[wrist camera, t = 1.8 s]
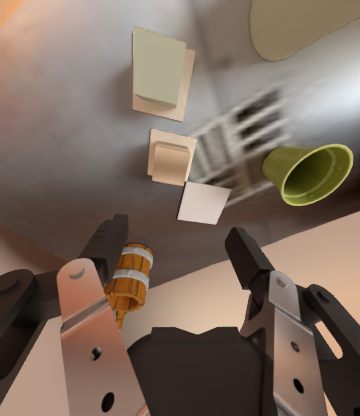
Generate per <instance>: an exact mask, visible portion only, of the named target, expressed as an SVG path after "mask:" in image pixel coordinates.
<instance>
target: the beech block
mask: <svg viewBox="0 0 360 416" xmlns="http://www.w3.org/2000/svg"><path fill="white" fill-rule="evenodd" d="M190 156H191V153H190V151H189V149H188V147H187V146H182V145H178V144H173V143H168V142H164V141H158V143H157V145H156V147H155V157H154V167H153V177H152V181H158V182H164V183H170V184H175V185H181V186H183V185H184V181H185V177H186V173H187V168H188V164H189V160H190Z"/></svg>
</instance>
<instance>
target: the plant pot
mask: <svg viewBox="0 0 360 416" xmlns="http://www.w3.org/2000/svg"><path fill="white" fill-rule="evenodd" d="M352 164H353V154H352V152H351V150H350V149H349V148H348V147H346V146H344V145H340V144H328V145H324V146H321V147H314V148H307V147H288V146H283V147H279V148H276V149H274V150H273V151H272V152H271V153H270V154H269V155H268V156H267V157H266V158H265V160H264V162H263V165H262V171H263V174H264V175H265V176H266V177H267V178H268V179H269V180H270V181H271V182H272V183H273V184H274V185H275V186H276V187H277V188H278V189H279V192H280V193H281V197H282V199H283V200H284V201H285V202H286V203H288V204H290V205H294V206H302V205H307V204H311V203H314V202H316V201H318V200H320V199H322V198H324V197H326V196H327V195H328V194H330V193H331V192H333V191H334V190H335V189H336V188H337V187H338V186H339V185H340V184H341V183H342V182H343V181H344V180H345V178H346V177H347V175H348V174H349V172H350V170H351V167H352Z"/></svg>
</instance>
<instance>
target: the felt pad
mask: <svg viewBox="0 0 360 416" xmlns="http://www.w3.org/2000/svg"><path fill="white" fill-rule="evenodd" d="M230 192H231V189H229V188H223V187H218V186H212V185H206V184H201V183H195V182H189V181H187V182H186V186H185V190H184V194H183V198H182V202H181V206H180V210H179V214H178V218H177V219H178V220H186V221H193V222H201V223H209V224H216V223H217V221H218V218H219V216H220V214H221V212H222V210H223V207H224V205H225V203H226V201H227V199H228V196H229V194H230Z"/></svg>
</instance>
